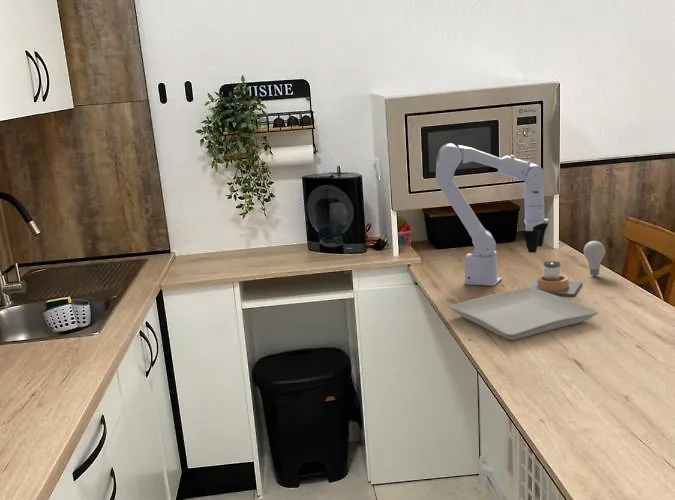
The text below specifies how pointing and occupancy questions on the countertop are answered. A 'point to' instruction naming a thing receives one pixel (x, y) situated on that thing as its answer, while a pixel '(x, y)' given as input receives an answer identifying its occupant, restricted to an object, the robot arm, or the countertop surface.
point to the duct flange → (556, 286)
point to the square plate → (522, 312)
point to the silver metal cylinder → (551, 271)
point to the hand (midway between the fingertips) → (535, 249)
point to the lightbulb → (594, 256)
